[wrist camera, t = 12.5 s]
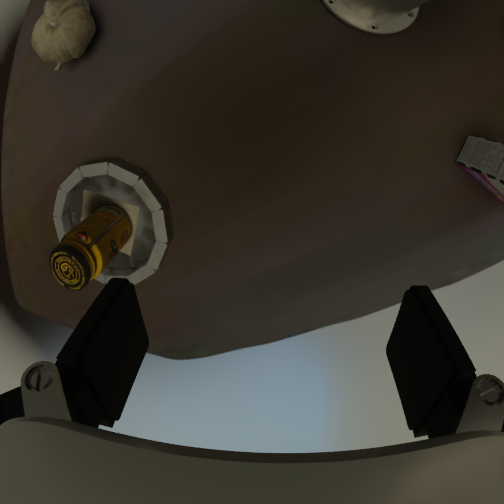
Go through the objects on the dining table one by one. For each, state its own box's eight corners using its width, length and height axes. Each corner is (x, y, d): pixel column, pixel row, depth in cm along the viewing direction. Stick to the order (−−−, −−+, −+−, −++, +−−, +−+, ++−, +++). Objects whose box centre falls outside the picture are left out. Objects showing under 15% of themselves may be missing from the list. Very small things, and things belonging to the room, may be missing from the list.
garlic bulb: (86, 11, 27) (53, -25, 17) (125, 25, 27) (93, -19, 18) (43, 65, 28) (0, 38, 18) (78, 85, 28) (31, 53, 19)
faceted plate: (53, 168, 35) (43, 172, 33) (163, 152, 34) (156, 156, 32) (79, 274, 43) (72, 283, 41) (179, 277, 42) (175, 286, 40)
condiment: (131, 254, 40) (92, 307, 29) (80, 235, 39) (32, 279, 28) (140, 206, 37) (95, 249, 26) (85, 188, 36) (29, 223, 25)
